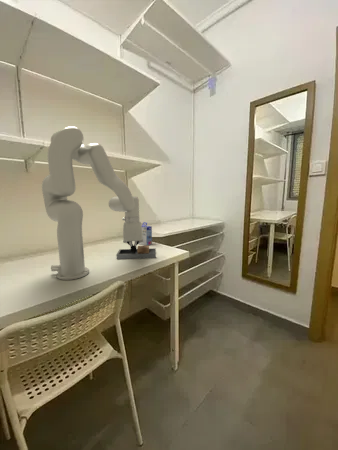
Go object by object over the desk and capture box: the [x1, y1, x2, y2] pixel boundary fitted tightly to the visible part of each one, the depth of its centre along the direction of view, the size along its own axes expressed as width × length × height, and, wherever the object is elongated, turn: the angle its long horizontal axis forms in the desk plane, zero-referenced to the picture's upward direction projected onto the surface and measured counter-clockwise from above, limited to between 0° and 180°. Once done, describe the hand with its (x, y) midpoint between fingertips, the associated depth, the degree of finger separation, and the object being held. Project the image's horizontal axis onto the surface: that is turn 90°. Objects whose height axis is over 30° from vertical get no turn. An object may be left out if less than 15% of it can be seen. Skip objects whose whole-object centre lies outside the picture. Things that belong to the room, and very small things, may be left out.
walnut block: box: [136, 245, 150, 253], centre depth 115 cm, size 6×5×5 cm
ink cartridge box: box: [138, 221, 153, 246], centre depth 140 cm, size 10×6×14 cm, turn 53°
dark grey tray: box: [115, 247, 157, 260], centre depth 115 cm, size 20×10×2 cm, turn 94°
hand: (133, 252), depth 115 cm, fingers closed
